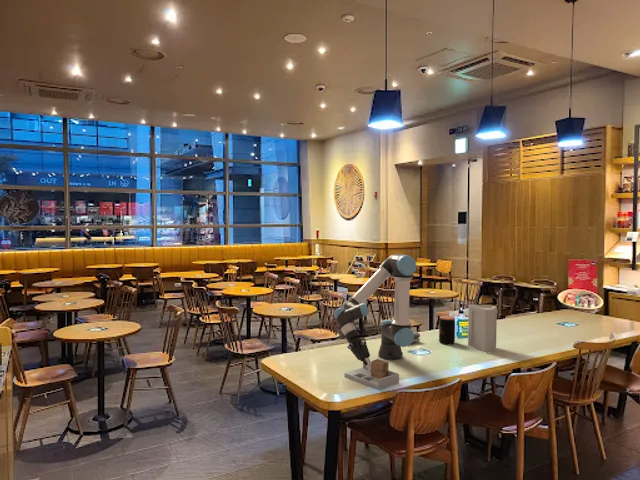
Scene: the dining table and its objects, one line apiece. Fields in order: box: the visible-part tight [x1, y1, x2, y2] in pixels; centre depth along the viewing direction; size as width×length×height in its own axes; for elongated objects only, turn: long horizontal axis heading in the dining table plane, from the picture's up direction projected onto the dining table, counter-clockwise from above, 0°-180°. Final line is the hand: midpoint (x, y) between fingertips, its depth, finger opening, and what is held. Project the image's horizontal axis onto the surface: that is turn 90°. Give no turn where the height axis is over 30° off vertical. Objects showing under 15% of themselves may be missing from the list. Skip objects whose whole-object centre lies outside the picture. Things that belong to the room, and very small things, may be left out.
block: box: [370, 358, 390, 379], centre depth 246 cm, size 6×7×8 cm
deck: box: [344, 362, 400, 390], centre depth 246 cm, size 15×26×5 cm, turn 39°
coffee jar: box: [438, 315, 456, 345], centre depth 323 cm, size 11×11×18 cm
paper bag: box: [467, 304, 498, 353], centre depth 309 cm, size 19×15×28 cm
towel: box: [411, 330, 421, 344], centre depth 329 cm, size 15×18×8 cm
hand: (371, 369), depth 248 cm, fingers closed
